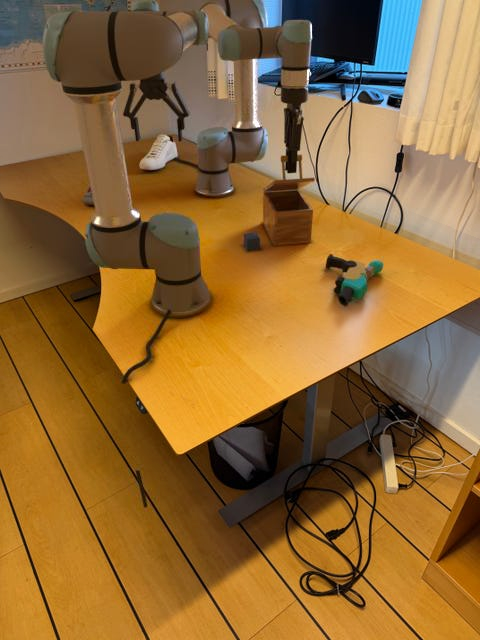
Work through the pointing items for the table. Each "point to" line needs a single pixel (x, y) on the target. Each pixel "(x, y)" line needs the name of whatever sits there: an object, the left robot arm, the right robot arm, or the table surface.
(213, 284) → the table surface
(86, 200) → the toy gun
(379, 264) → the toy gun
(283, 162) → the lid
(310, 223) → the chest
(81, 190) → the table surface
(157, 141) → the sneaker
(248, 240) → the block
